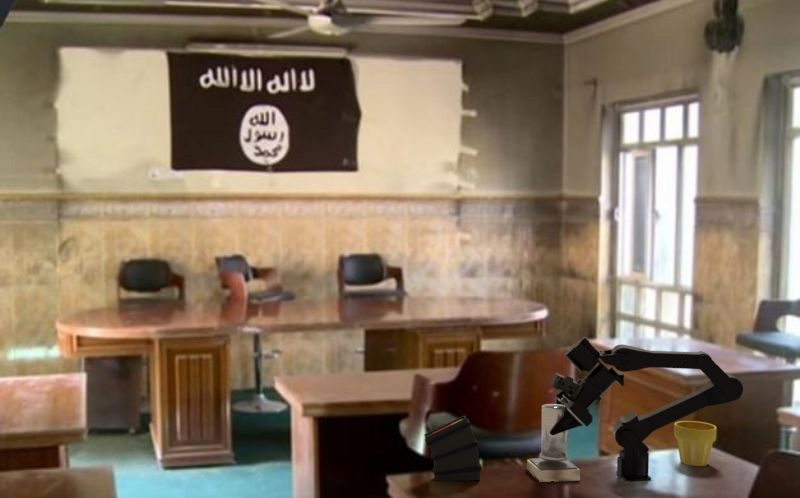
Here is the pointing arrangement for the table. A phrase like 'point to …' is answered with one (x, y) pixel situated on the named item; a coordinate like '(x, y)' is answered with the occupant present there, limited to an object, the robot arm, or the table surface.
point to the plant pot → (694, 441)
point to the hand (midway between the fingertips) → (548, 430)
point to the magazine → (454, 451)
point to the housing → (552, 444)
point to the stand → (553, 470)
